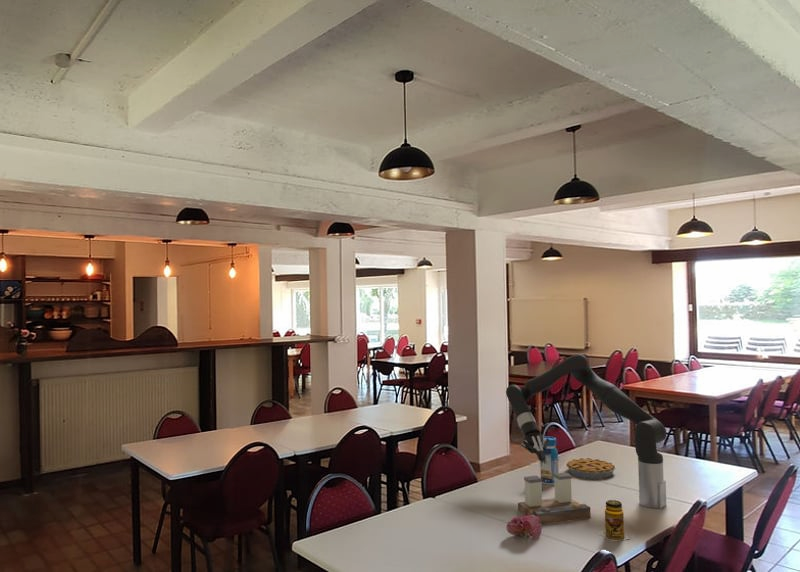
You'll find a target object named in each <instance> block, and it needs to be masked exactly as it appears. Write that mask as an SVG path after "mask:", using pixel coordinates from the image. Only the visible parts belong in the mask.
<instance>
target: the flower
mask: <svg viewBox="0 0 800 572" xmlns="http://www.w3.org/2000/svg"><path fill="white" fill-rule="evenodd" d="M538 523H539V518H538V517H536V516H534V515H530V516H529V515H528V516H525V515H522V516H521V517H518V516H514V517H513V518H511V520H510V521H508V522H507V524H506V531H507V533H508V534H510V535H512V536H517V535H520V536H522V537H525V539H526V541H527V539H528V538H529V536H530V537H531V538H532V539H538V538H540V536H541V534H542V528H543V527H542V525H541V523H540V524H538Z"/></svg>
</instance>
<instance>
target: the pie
mask: <svg viewBox="0 0 800 572" xmlns="http://www.w3.org/2000/svg"><path fill="white" fill-rule="evenodd" d="M566 467H567V469H568V470H569V472H570V474H571V475H573V476H576V477H580V478H583V479H595V480H596V479H597V480H599V479H605V478H609V477H611V476H612V475H613V473H614V471H615V470H616V466H615V464H613V463H612V462H608V461H607V460H600V459H592V458H588V457H587V458H579V459H572V460H569V461H568V462H567V463H566ZM598 478H599V479H598Z"/></svg>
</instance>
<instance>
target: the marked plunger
mask: <svg viewBox="0 0 800 572" xmlns="http://www.w3.org/2000/svg"><path fill="white" fill-rule="evenodd" d="M572 476H573V474H571V473H568V472H566V471H565V472H558V473H555V474H554V482H555V485H554V498H555V500H556V501H558V502H560V503H564V502H572V500H573V498H572V495H573V494H572V479H573V477H572Z"/></svg>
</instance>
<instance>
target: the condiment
mask: <svg viewBox="0 0 800 572" xmlns="http://www.w3.org/2000/svg"><path fill="white" fill-rule="evenodd" d="M624 519H625V518H624V511H623V505H622V502H621V501H619V500H615V499H610V500H607V501H605V509H604V522H605V523H604V524H605V525H604V528H605V531H600V532H597V533H598V534H599V535H601V536H602V537H603V538H605V539H607V540H608V541H610V542H612V543H615V542H620V541H626V540H629V539H631V538H630V537H628V536H626V535H625V522H624V521H625V520H624Z"/></svg>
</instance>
